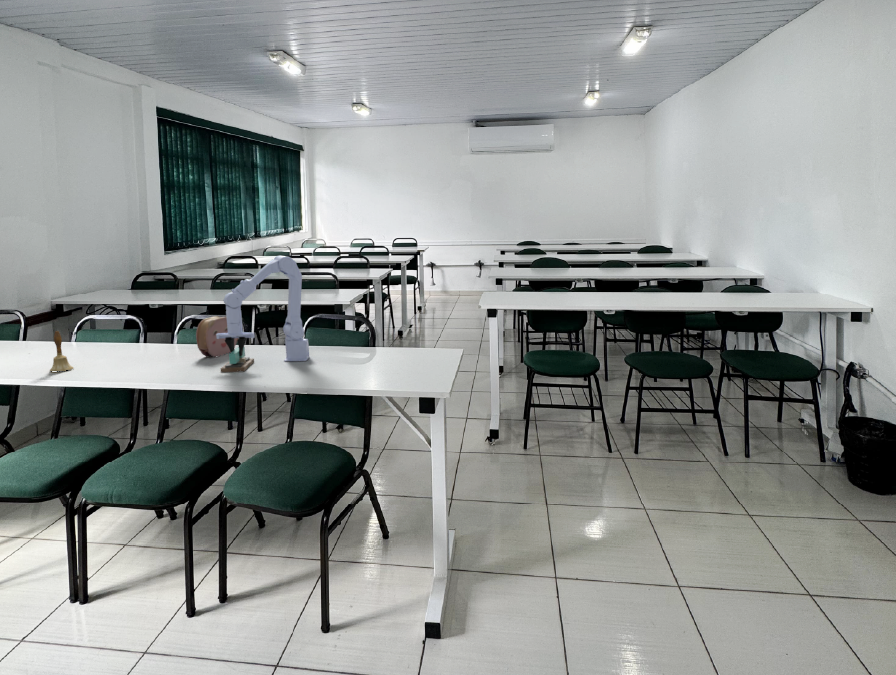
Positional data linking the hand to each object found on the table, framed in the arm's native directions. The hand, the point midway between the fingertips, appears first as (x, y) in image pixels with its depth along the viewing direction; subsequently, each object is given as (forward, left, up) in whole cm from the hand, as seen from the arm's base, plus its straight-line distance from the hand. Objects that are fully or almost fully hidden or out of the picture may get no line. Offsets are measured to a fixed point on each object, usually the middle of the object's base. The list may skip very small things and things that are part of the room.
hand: (237, 355), depth 241 cm
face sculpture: (+15, -25, -5) cm, 30 cm away
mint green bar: (0, 0, -2) cm, 2 cm away
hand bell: (+70, -2, -5) cm, 70 cm away
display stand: (0, 0, -5) cm, 5 cm away
